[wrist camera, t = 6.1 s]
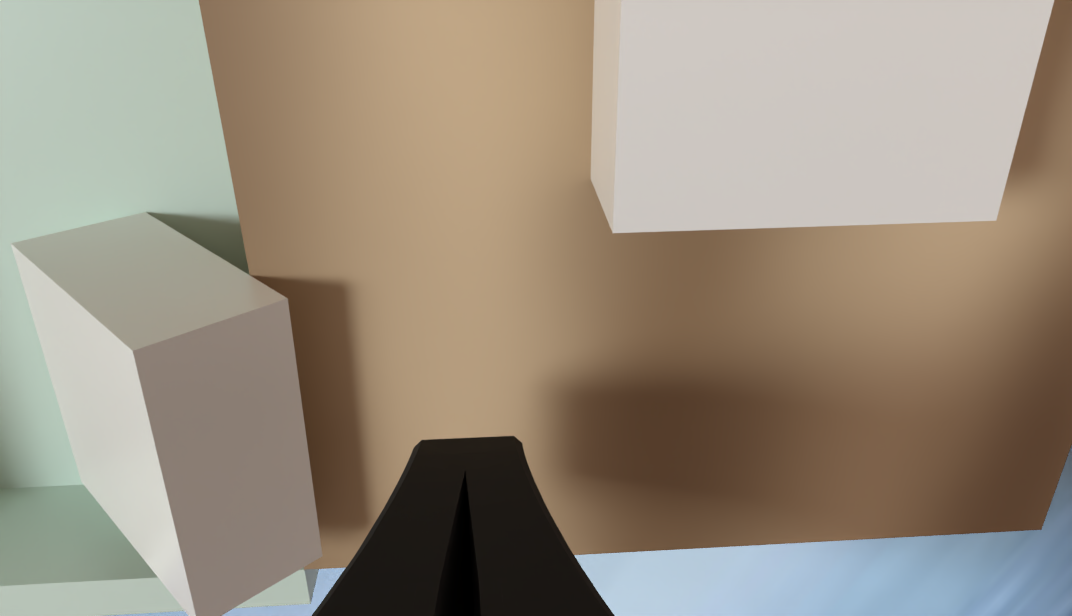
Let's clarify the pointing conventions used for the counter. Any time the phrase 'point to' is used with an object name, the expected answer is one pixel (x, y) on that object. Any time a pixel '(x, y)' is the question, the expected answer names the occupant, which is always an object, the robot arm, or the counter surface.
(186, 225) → the box
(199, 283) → the tile
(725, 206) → the tile
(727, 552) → the counter surface
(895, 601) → the counter surface
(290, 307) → the board
